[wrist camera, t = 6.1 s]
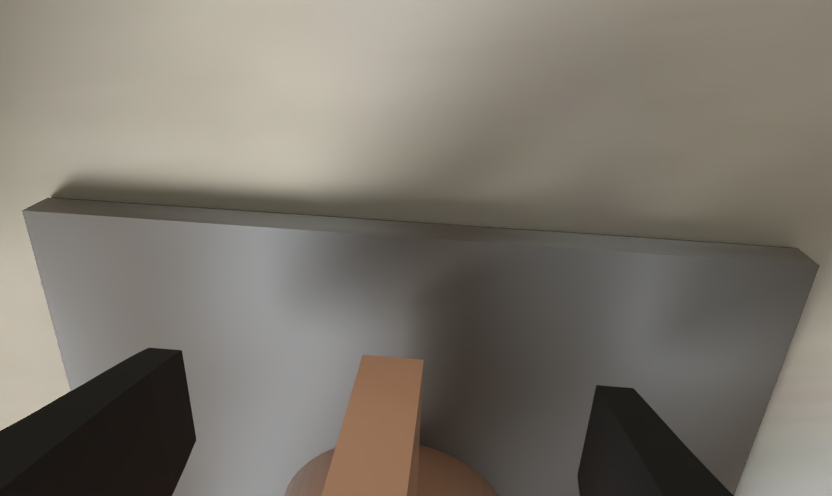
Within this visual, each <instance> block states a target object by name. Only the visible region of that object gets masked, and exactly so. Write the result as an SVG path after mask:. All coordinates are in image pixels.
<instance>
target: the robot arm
mask: <svg viewBox="0 0 832 496" xmlns="http://www.w3.org/2000/svg"><path fill="white" fill-rule="evenodd" d="M195 442H196V434H195V428H194V422H193V416H192V409H191V403H190V397H189V391H188V385H187V378H186V372H185V366H184V360H183V354H182V350H173V349H161V348H147V349H145V350H143V351H141V352H139V353H137V354H135V355H133V356H131V357H129V358H128V359H126V360H124V361H122V362H120V363H119V364H117V365H115V366H113V367H112V368H110V369H108V370H106V371H105V372H103V373H101V374H100V375H98V376H96V377H94V378H93V379H91V380H89V381H88V382H86V383H84V384H83V385H81V386H79V387H77V388H76V389H74V390H72V391H70V392H69V393H67V394H65V395H64V396H62V397H60V398H58V399H57V400H55V401H53V402H51V403H50V404H48V405H46V406H45V407H43V408H41V409H39V410H38V411H36V412H34V413H32V414H31V415H29V416H27V417H25V418H24V419H22V420H20V421H18V422H16V423H14V424H13V425H11V426H9V427H7V428H5V429H3V430H1V431H0V496H172V495H173V493H174V490H175V488H176V486H177V484H178V482H179V479H180V477H181V475H182V473H183V471H184V468H185V466H186V464H187V461H188V459H189V456H190V454H191V452H192V449H193V447H194V444H195ZM577 477H578V486H579V494H580V496H734V495H733V494H732V493H731V492H730V491H729V490H728V489H727V488H726V487H725V486H724V485H723V484H722V483H721V482H720V481H719V480H718V479H717V478H716V477H715V476H714V475H713V474H712V473H711V472H710V471H709V470H708V469H707V468H706V467H705V466H704V465H703V463H702V462H701V461H700V460H699V459H698V458H697V457H696V456H695V455H694V454H693V453H692V452H691V451H690V450H689V449H688V447H687V446H686V445H685V444H684V443H683V442H682V441H681V440H680V439H679V438H678V437H677V435H676V434H675V433H674V432H673V431H672V430H671V429H670V428H669V427H668V426H667V424H666V423H665V422H664V421H663V420H662V419H661V418H660V417H659V416H658V414H657V413H656V412H655V411H654V410H653V409H652V408H651V407H650V406H649V404H648V403H647V402H646V401H645V400H644V399H643V398H642V397H641V396H640V395H639V394H638V392H637V391H636V390H635V389H634V388H626V387H614V386H602V385H596V389H595V394H594V398H593V403H592V408H591V413H590V417H589V422H588V427H587V432H586V436H585V441H584V446H583V451H582V456H581V460H580V465H579V470H578V475H577Z"/></svg>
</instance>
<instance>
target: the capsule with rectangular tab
mask: <svg viewBox="0 0 832 496" xmlns="http://www.w3.org/2000/svg"><path fill="white" fill-rule="evenodd" d="M423 365H424V360H420V359H408V358H396V357H384V356H372V355H362V359H361V362H360V366H359V369H358V372H357V376H356V379H355V383H354V386H353V389H352V393H351V396H350V400H349V403H348V407H347V410H346V413H345V417H344V420H343V424H342V427H341V430H340V434H339V437H338V441H337V444H336V447H335V448H334V449H331V450H329V451H327V452H324V453H322V454H320V455H319V456H317V457H315V458H314V459H312V460H310V461H309V462H308V463H307V464H306V465H304V466H303V467H302V468H301V469H300V470H299V471H298V472H297V473H296V474H295V476H294V477H293V478H292V480H291V481H290V483H289V485H288V486H287V489H286V491H285V494H284V496H499V495H498V494H497V493H496V491H495V490H494V488H493V487H492V486H491V485H490V484H489V483H488V482H487V481H486V480H485V479H484V478H483V477H482V476H481V475H480V474H479V473H477V472H476V471H475V470H474V469H472V468H471V467H470V466H468V465H466V464H465V463H463V462H462V461H460V460H458V459H456V458H454V457H452V456H450V455H448V454H446V453H444V452H441V451H438V450H436V449H433V448H430V447H426V446H422V445H419V442H420V422H421V403H422V384H423Z"/></svg>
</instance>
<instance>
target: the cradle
mask: <svg viewBox="0 0 832 496" xmlns="http://www.w3.org/2000/svg"><path fill="white" fill-rule="evenodd" d="M22 211H23V215H24V219H25V222H26V226H27V230H28V233H29V237H30V241H31V245H32V248H33V252H34V256H35V259H36V263H37V267H38V271H39V274H40V278H41V282H42V285H43V289H44V293H45V297H46V300H47V304H48V308H49V311H50V315H51V319H52V323H53V326H54V330H55V334H56V337H57V341H58V345H59V349H60V352H61V356H62V360H63V363H64V367H65V371H66V375H67V378H68V382H69V386H70V389H71V391H72V390H74V389H76V388H77V387H79V386H81V385H83V384H84V383H86V382H88V381H89V380H91V379H93V378H94V377H96V376H98V375H100V374H101V373H103V372H105V371H106V370H108V369H110V368H112V367H113V366H115V365H117V364H119V363H120V362H122V361H124V360H126V359H128V358H129V357H131V356H133V355H135V354H137V353H139V352H141V351H143V350H145V349H147V348H161V349H173V350H182V354H183V360H184V366H185V372H186V378H187V385H188V391H189V397H190V403H191V409H192V416H193V422H194V428H195V434H196V442H195V444H194V447H193V449H192V452H191V454H190V456H189V459H188V461H187V464H186V466H185V468H184V471H183V473H182V475H181V477H180V479H179V482H178V484H177V486H176V488H175V490H174V493H173V495H172V496H284V494H285V491H286V489H287V486H288V485H289V483H290V481H291V480H292V478H293V477H294V476H295V474H296V473H297V472H298V471H299V470H300V469H301V468H302V467H303V466H304V465H306V464H307V463H308V462H309V461H310V460H312V459H314V458H315V457H317V456H319V455H320V454H322V453H324V452H327V451H329V450H331V449H334V448H335V447H336V444H337V441H338V437H339V434H340V430H341V427H342V424H343V420H344V417H345V413H346V410H347V407H348V403H349V400H350V396H351V393H352V389H353V386H354V383H355V379H356V376H357V372H358V369H359V366H360V362H361V359H362V355H372V356H384V357H396V358H408V359H420V360H424V365H423V384H422V403H421V422H420V442H419V445H422V446H426V447H430V448H433V449H436V450H438V451H441V452H444V453H446V454H448V455H450V456H452V457H454V458H456V459H458V460H460V461H462V462H463V463H465V464H466V465H468V466H470V467H471V468H472V469H474V470H475V471H476V472H477V473H479V474H480V475H481V476H482V477H483V478H484V479H485V480H486V481H487V482H488V483H489V484H490V485H491V486H492V487H493V488H494V490H495V491H496V493H497V494H498V495H499V496H580V494H579V486H578V477H577V475H578V470H579V465H580V460H581V456H582V451H583V446H584V441H585V436H586V432H587V427H588V422H589V417H590V413H591V408H592V403H593V398H594V394H595V389H596V385H602V386H614V387H626V388H634V389H635V390H636V391H637V392H638V394H639V395H640V396H641V397H642V398H643V399H644V400H645V401H646V402H647V403H648V404H649V406H650V407H651V408H652V409H653V410H654V411H655V412H656V413H657V414H658V416H659V417H660V418H661V419H662V420H663V421H664V422H665V423H666V424H667V426H668V427H669V428H670V429H671V430H672V431H673V432H674V433H675V434H676V435H677V437H678V438H679V439H680V440H681V441H682V442H683V443H684V444H685V445H686V446H687V447H688V449H689V450H690V451H691V452H692V453H693V454H694V455H695V456H696V457H697V458H698V459H699V460H700V461H701V462H702V463H703V465H704V466H705V467H706V468H707V469H708V470H709V471H710V472H711V473H712V474H713V475H714V476H715V477H716V478H717V479H718V480H719V481H720V482H721V483H722V484H723V485H724V486H725V487H726V488H727V489H728V490H729V491H730V492H731V493H732V494H733V495H734V493H735V491H736V488H737V485H738V483H739V480H740V477H741V475H742V472H743V469H744V467H745V464H746V461H747V459H748V456H749V453H750V450H751V448H752V445H753V442H754V440H755V437H756V434H757V432H758V429H759V426H760V424H761V421H762V418H763V416H764V413H765V410H766V408H767V405H768V402H769V399H770V397H771V394H772V391H773V389H774V386H775V383H776V381H777V378H778V375H779V373H780V370H781V367H782V365H783V362H784V359H785V357H786V354H787V351H788V348H789V346H790V343H791V340H792V338H793V335H794V332H795V330H796V327H797V324H798V322H799V319H800V316H801V314H802V311H803V308H804V306H805V303H806V300H807V298H808V295H809V292H810V289H811V287H812V284H813V281H814V279H815V276H816V273H817V271H818V268H819V265H818V264H817V263H815V262H814V261H813V260H812V259H810V258H809V257H808V256H807V255H805V254H804V253H803V252H802V251H800V250H799V249H798V248H786V247H771V246H756V245H741V244H727V243H712V242H697V241H682V240H667V239H652V238H638V237H623V236H608V235H593V234H578V233H564V232H549V231H534V230H519V229H504V228H489V227H475V226H460V225H445V224H430V223H415V222H400V221H386V220H371V219H356V218H341V217H326V216H311V215H297V214H282V213H267V212H252V211H237V210H222V209H208V208H193V207H178V206H163V205H148V204H133V203H119V202H104V201H89V200H74V199H59V198H47V199H45V200H43V201H41V202H39V203H36V204H34V205H32V206H30V207H28V208H26V209H24V210H22Z"/></svg>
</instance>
